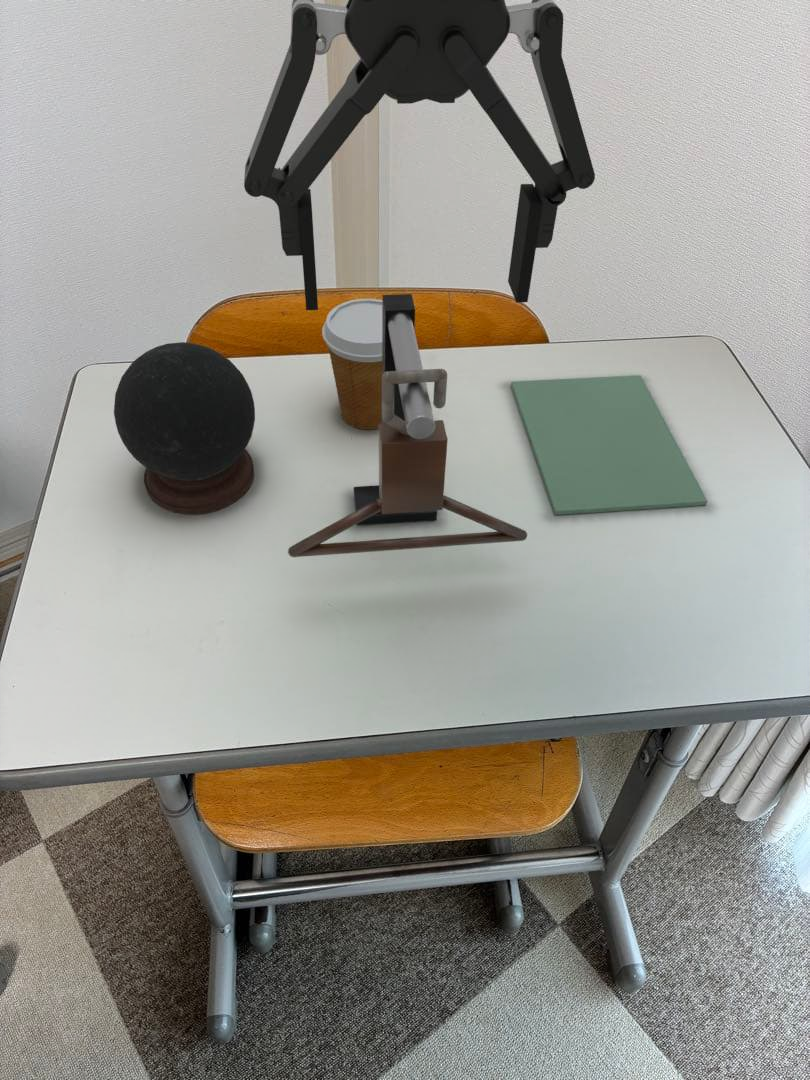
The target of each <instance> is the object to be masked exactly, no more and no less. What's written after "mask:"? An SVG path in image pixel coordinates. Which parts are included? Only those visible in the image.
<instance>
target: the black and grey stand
mask: <svg viewBox="0 0 810 1080" xmlns="http://www.w3.org/2000/svg"><path fill="white" fill-rule="evenodd" d="M381 300H382V375H383V373H385V372H387V371H406V370H424V367H423V363H422V358H421V354H420V350H419V345H418V340H417V336H416V331H415V328H416V308H415V307H416V306H415V303H414V298H413V294H412V293H400V294H397V293H396V294H382V299H381ZM394 414H395V415H396V416H398V417H399V418H400V419H402V420H403V421H405V423H406V429H407V432H408V434H409V435H410V436H411V437H413V438H416V439H423V438H426V437H428V436H430V435H431V434H432V433H433V432H434V430H435V422H434V421H435V417H434V413H433V409H432V404H431V398H430V395H429V391H428V385H427V382H424V383H405V384H394ZM384 423H385V422H384V421H383V420H382V424H384ZM379 498H380V497H379V484H378V485H361V486H353V501H354V509H355V510H354V512H355V511H357V510H358V509H360V508H362V507H364V506H366V505H367V504H369V503H371V502H373V501H375V500H377V499H379ZM437 517H438V510H436V511H421V512H406V513H391V514H382V512H381V511H380V512H378V513H376V514H374V515H372V516H371V517H369V518H367V519H365V520H363V521H361V522H360V523H358V524H356V526H365V525H381V524H394V523H395V524H396V523H411V522H427V521H437V519H438V518H437Z"/></svg>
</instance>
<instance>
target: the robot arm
mask: <svg viewBox="0 0 810 1080" xmlns="http://www.w3.org/2000/svg"><path fill="white" fill-rule="evenodd" d="M563 13H564V12H562V10H561V8H560V7H559V6H558V5H557V4H556V3H555V2H554V0H531V1H530V2H528V3H520V4H512V5H507V4H506V0H348V1H347V2H346V5H345V6H343V5H337V4H336V5H334V4H328V3H320V2H315V1H314V0H292V3H291V17H290V19H291V20H290V22H291V23H290V44H289V47H288V48H287V52H286V54H285V57H284V60H283V63H282V66H281V67H280V71H279V73H278V76H277V78H276V81H275V83H274V86H273V89H272V92H271V94H270V97H269V100H268V102H267V106H266V108H265V111H264V114H263V116H262V119H261V121H260V124H259V127H258V129H257V132H256V135H255V137H254V140H253V143H252V145H251V148H250V151H249V154H248V156H247V159H246V162H245V166H244V179H243V180H244V182H243V187H244V191H245V192H246V194H247V195H249V196H250V197H254V198H259V197H265V198H268V199H270V200H272V201H273V202H274V203H275V204H276V206H277V207H278V208H277V209H278V214H279V227H280V236H281V237H280V238H281V247H282V251H283V252H284V254H285V256H286V257H298V256H301V257H302V258H301V259H302V270H303V271H302V272H303V273H302V274H303V282H304V283H303V285H304V299H305V310H306V311H318V310H319V302H318V301H319V300H318V288H317V287H318V284H317V269H316V252H315V236H314V221H313V220H314V219H313V205H312V193H311V190H312V189H311V188H310V187H311V186H312V185H313V183H314V182H315V181H316V179H318V177H319V176H320V174H321V173H322V172H323V171H324V169H325V168H326V166H327V165H328V164H329V162H330V161H331V160H332V158H334V156H335V155H336V153H337V152H338V151H339V150H340V148H341V147H342V146H343V144H344V143H345V142H346V140H347V139H348V138H349V137H350V136H351V134H352V133H353V132H354V130H355V129H356V128H357V126H358V125H359V123H361V121H362V120H363V118H364V117H365V116H366V115H368V114H370V113H371V112H372V111H373V110H374V109H375V108H376V106H377V105H378V104H379V102H380V101H381V100H382V98H383V97H384V96H387V97H388V98H390V99H393V100H395V101H396V103H397V104H398V105H401V104H403V105H404V104H405V105H406V104H415V103H418V102H421V101H425V100H428V101H432V102H434V103H439V104H455V103H456V99H459V98H461V97H462V96H464V95H465V94H466V93H468V91H470V92H471V94H472V95H473V97H474V98H475V100H476V101H477V102H478V104H479V106H480V107H481V109H482V110H483V111H484V113H486V115H487V116H488V118H489V120H491V122H492V123H493V125H494V127H495V128H496V129H497V130H498V132H499V134H500V135H501V136H502V138H503V139H504V141H505V142H506V144H507V145H508V147H509V148H510V150H511V151H512V152H513V154H514V155H515V157H516V158H517V159H518V161H519V163H520V165H522V167H523V168H524V170H525V171H526V173H527V174H528V176H529V177H530V179H531V180H532V181H533V183H534V184H533V183H521V184H520V185H519V186H520V187H519V195H518V201H517V210H516V218H515V224H514V225H515V226H514V232H513V234H514V235H513V241H512V247H511V256H510V264H509V271H508V279H507V283H508V285H509V287H510V290H511V293H512V295H513V298H514V300H515V303H517V304H518V303H528V302H529V295H530V288H531V283H532V276H533V269H534V264H535V258H536V257H535V256H536V250H537V249H546V248H549V246H550V245H551V243H552V241H553V237H554V230H555V224H556V220H557V213H558V207H559V206H560V205H562V204H563V203H564V202H565V200H566V199H567V193H568V191H571V190H574V189H576V188H578V189H580V190H586V189H588V188H590V187H591V186H592V185H593V184H594V182H595V180H596V173H595V170H594V166H593V162H592V159H591V155H590V152H589V148H588V145H587V141H586V138H585V135H584V134H585V133H584V131H583V127H582V124H581V120H580V116H579V113H578V108H577V106H576V102H575V98H574V94H573V92H572V91H573V90H572V88H571V84H570V80H569V77H568V74H567V70H566V67H565V63H564V60H563V53H562V52H563V35H564V33H563V32H564V14H563ZM509 34H514V35H515V36H516V38H517V42H518V44H519V46H520V47H521V49H522V50H523V51H524V52H525V53H527V54H530V56H531V57H530V58H531V61H532V65H533V67H534V71H535V75H536V77H537V81H538V85H539V87H540V90H541V93H542V96H543V100H544V103H545V107H546V109H547V113H548V116H549V119H550V123H551V126H552V129H553V132H554V136H555V139H556V143H557V145H558V149H559V152H560V156H561V158H562V160H560V161H557V162H555V163H552V164H551V163H550V161H549V160H548V158H547V157H546V155H545V154H544V152H543V151H542V149H541V148H540V146H539V145H538V143H537V142H536V140H535V138H534V137H533V135H532V134H531V132H530V130H529V129H528V128H527V126H526V125H525V123H524V122H523V120H522V119H521V117H520V116H519V114H518V113H517V111H516V110H515V108H514V107H513V105H512V104H511V101H509V99H508V97H507V96H506V94H505V92H503V90H502V88H501V86H499V84H498V82H497V81H496V79H495V78H494V76H493V74H492V73H491V71H490V70H489V68H488V67H487V66H488V65H489V63H490V62H491V60H492V59H493V58H494V56H495V55H496V54H497V52H498V51H499V50H500V48H501V46H502V45H503V44H504V43H505V41H506V39H507V38H508V36H509ZM339 35H345V36H346V38H347V40H348V42H349V43H350V46H351V47H352V48H353V50H354V51H355V53H356V55H358V57H359V59H358V61H357V62H356V64H355V65H354V67H353V68H352V69H351V70H350V72H349V74H348V75H347V77H346V79H345V82H344V83H343V85H342V86H341V88H340V89H339V91H338V92H337V93H336V94H335V96H334V97H333V99H332V100H331V102H330V103H329V104H328V106H327V107H326V108H325V110H324V111H323V112H322V114H321V115H320V117H319V118H318V119H317V120H316V121H315V123H314V125H312V127H311V128H310V130H309V131H308V132H307V134H306V135H305V137H304V138H303V139H302V141H301V142H300V144H299V145H298V146H297V147H296V149H295V150H294V152H292V155H291V156H290V157H289V158H288V160H287V161H286V163H285V164H284V165H283V166H282V168H281V167H278V168H277V167H276V165H277V162H278V160H279V158H280V155H281V152H282V149H283V147H284V144H285V142H286V140H287V137H288V135H289V132H290V130H291V127H292V124H293V122H294V119H295V118H296V115H297V112H298V109H299V106H300V104H301V101H302V99H303V96H304V94H305V92H306V89H307V87H308V84H309V81H310V79H311V77H312V72H313V70H314V66H315V65H314V64H315V61H316V56H322V55H323V56H324V55H325V54H327V53H328V52H329V51H330V49H331V46H332V43H333V41H334V39H335V38H336V37H337V36H339Z"/></svg>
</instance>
